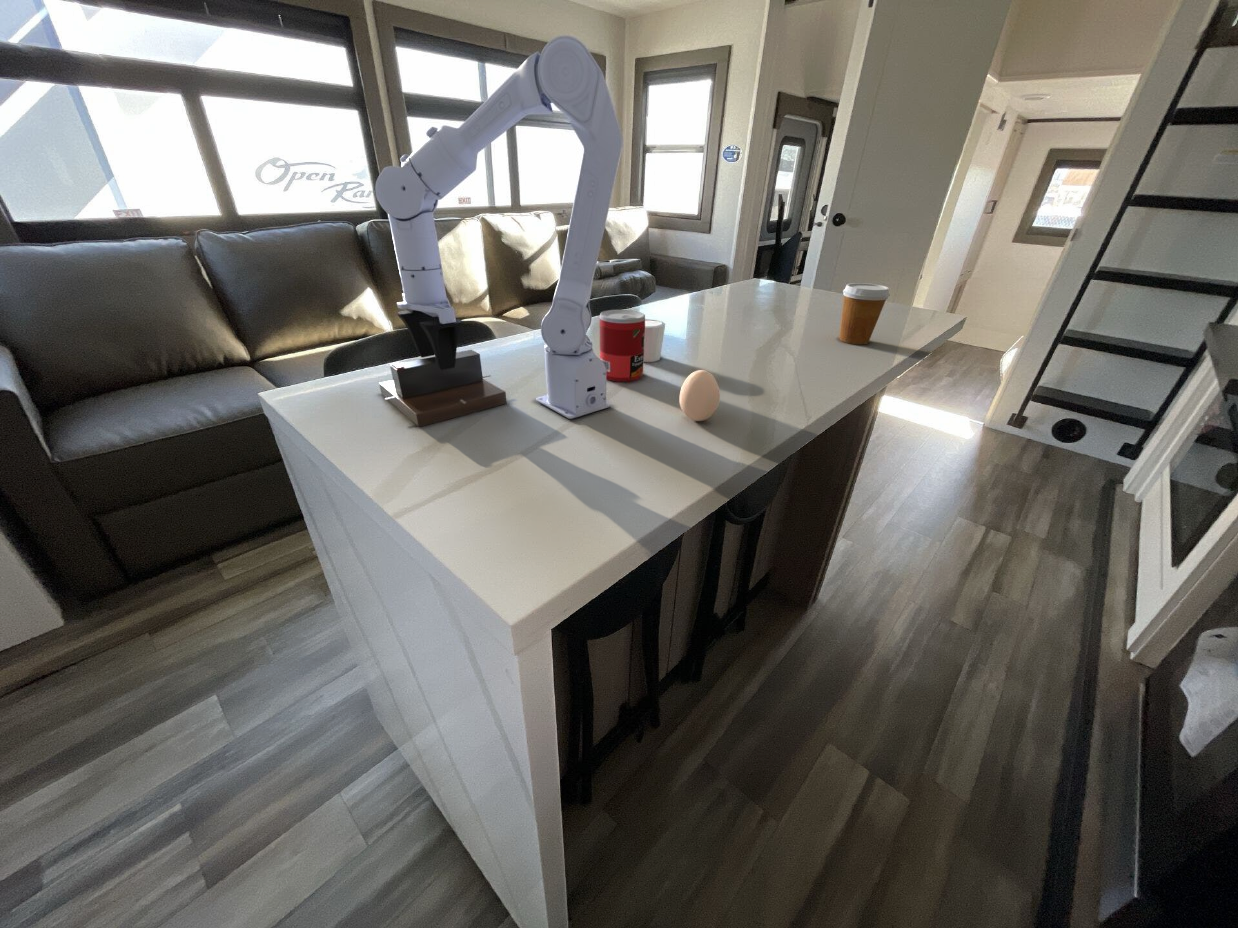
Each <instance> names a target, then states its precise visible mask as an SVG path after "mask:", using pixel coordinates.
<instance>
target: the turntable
mask: <svg viewBox="0 0 1238 928" xmlns="http://www.w3.org/2000/svg"><path fill="white" fill-rule="evenodd" d="M482 376H483V381H480V382H475V383H471V384H467V385H462V386H458V387H454V388H449V389H445V390H441V391H436V392H432V393H428V394H423V395H419V396H414V397H410V398H406V399H402V398H401V397H400V396H399V395H397V394H396V391H395V386H394V382H393V379H391V380H387V381H382V382H378V385H379V390H380V393H381V395H382V396H383V397H384V400H385V401H388V402H390V403H391V404H392V405H393V406H394V407H395V408H396V409H397V410H399V411H400V412H401V413H402V414H403V415H404V416H405V417H406V418H408V419H409V420H410V421H411V422H412V423H413V424H415V425H416V426H417V427H418V428H420V427H424V426H428V425H431V424H436V423H439V422H444V421H448V420H450V419H454V418H458V417H462V416H466V415H469V414H472V413H477V412H480V411H485V410H488V409H492V408H497V407H500V406H503V405H507V404H508V403H507V393H506V390H503V389H501V388H500V387H499V386H497V385H494V384H493V383H491V382H490V381H488V380H486V379H485V378H490V377H492V375H491V374H488V375H482Z"/></svg>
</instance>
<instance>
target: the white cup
mask: <svg viewBox="0 0 1238 928" xmlns="http://www.w3.org/2000/svg"><path fill="white" fill-rule="evenodd" d="M665 327H666V323H665V322H663V321H662V320H657V319H647V318H645V339H644V361H643V363H653V362H658V361H659V360H660V359H661V355H662V349H663V342H664V336H665V330H666V329H665Z"/></svg>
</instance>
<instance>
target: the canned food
mask: <svg viewBox="0 0 1238 928" xmlns="http://www.w3.org/2000/svg"><path fill="white" fill-rule="evenodd" d="M645 319H646V314H645V313H643V312H642V311H638V310H632V309H609V310H608V309H607V310H604V311H601V312H600V313H599V359H600V360H602V362H603V363H604V365H605V367H606V381H610V382H611V381H612V382H616V383H617V382H618V383H627V382H635V381H638V380H639V379H641V378H642V375H643V374H644V373H643V372H644V362H643V361H644V339H645Z"/></svg>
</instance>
